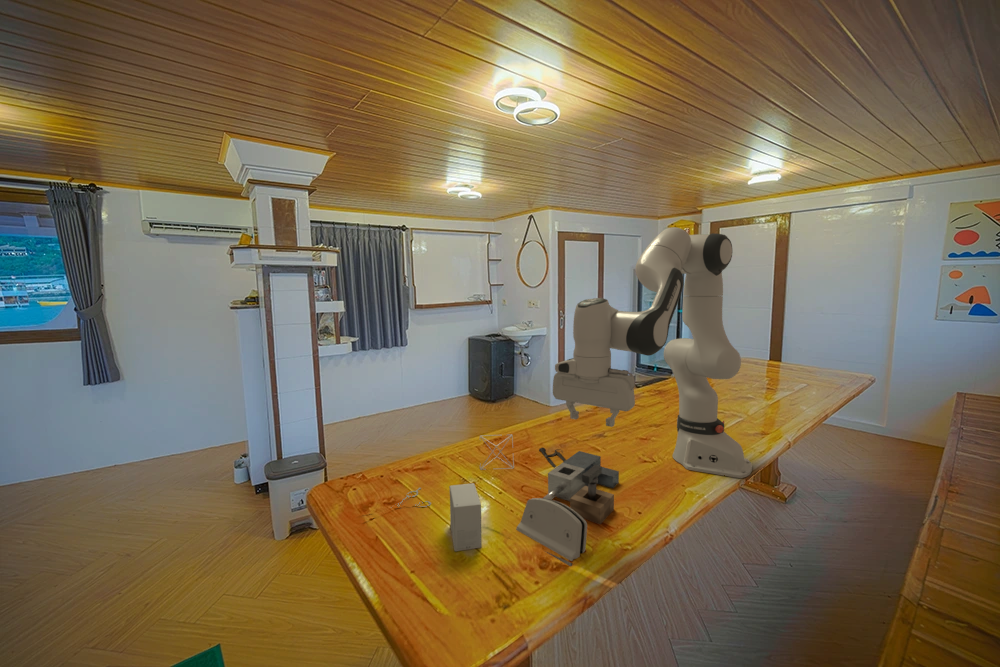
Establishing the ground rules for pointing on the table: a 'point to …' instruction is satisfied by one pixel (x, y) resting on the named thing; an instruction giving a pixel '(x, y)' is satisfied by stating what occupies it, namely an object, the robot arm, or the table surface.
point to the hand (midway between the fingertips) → (591, 422)
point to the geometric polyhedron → (499, 452)
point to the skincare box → (465, 517)
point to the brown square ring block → (592, 505)
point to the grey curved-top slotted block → (554, 527)
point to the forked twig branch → (551, 456)
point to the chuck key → (592, 480)
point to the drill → (577, 476)
